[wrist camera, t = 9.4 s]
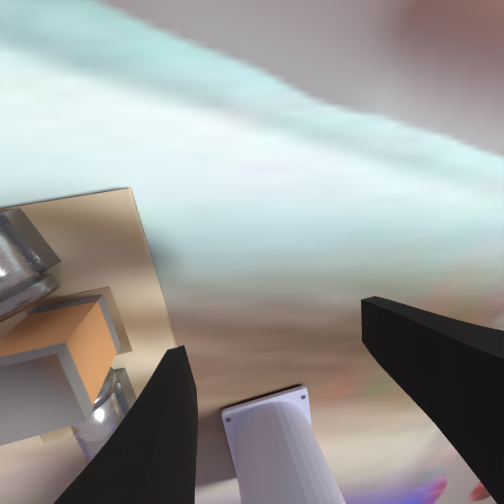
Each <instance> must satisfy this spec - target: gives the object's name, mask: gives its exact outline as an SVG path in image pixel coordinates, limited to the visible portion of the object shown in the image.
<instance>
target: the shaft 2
mask: <svg viewBox="0 0 504 504" xmlns="http://www.w3.org/2000/svg"><path fill="white" fill-rule="evenodd" d="M136 400H137V398H136V395H135V392H134V390H133V387H132V385H131V382H130V379H129V377H128V374H127V371H126V369H125V368H121V369H117V370H113V368H112V367H110V369H109V371H108V374H107V376H106V378H105V380H104V383H103V385H102V387H101V389H100V392H99V394H98V396H97V398H96V401H95V403H94V405H93V407H94V409H93V411H92V413H91V416H90V418H89V420H88V422H84V423H81V424H77V425H73V426H70V428H71V430H72V432H73V434H74V436H75V438H76V440H77V442H78V444H79V446H80V448H81V449H82V451H83V453H84V455H85V457H87V458H89V459H93V458H94V457H95V456H96V454H97V453H98V452H99V451H100V449H101V448H102V447H103V446H104V445H105V443H106V442H107V441H108V439H109V438H110V437H111V435H112V434H113V433H114V431H115V430H116V429H117V427H118V426H119V425H120V423H121V422H122V420H123V419H124V417H125V416H126V414H127V413H128V412H129V410H130V409H131V407H132V406H133V404H134V403H135V401H136Z"/></svg>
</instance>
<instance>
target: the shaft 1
mask: <svg viewBox="0 0 504 504" xmlns="http://www.w3.org/2000/svg"><path fill="white" fill-rule="evenodd" d="M59 262H61V260H60V259H59V257H58V256H57V255H56V253H55V252H54V251H53V250H52V248H51V247H50V246H49V244H48V243H47V242H46V240H45V239H44V238H43V237H42V235H41V234H40V233H39V231H38V230H37V229H36V227H35V226H34V225H33V224H32V222H31V221H30V220H29V218H28V217H27V216H26V214H25V213H24V212H23V211H22V209H21V208H20V209H15V210H10V211H5V212H1V213H0V322H2V321H4V320H6V319H8V318H10V317H12V316H14V315H16V314H18V313H20V312H22V311H23V310H25V309H27V308H29V307H30V306H32V305H34V304H35V303H37V302H39V301H40V300H42V299H43V298H45V297H46V296H48V295H49V294H51V293H52V292H54V291H55V290H56V289H57V288H59V286H60V284H59V282H58V281H57V280H56V279H55V277H54V276H53V275H52V274H51V273H50V274H47V275H44V276H42V275H41V273H42V272H44V271H46V270H48V269H50V268H51V267H53V266H54V265H56V264H58V263H59Z"/></svg>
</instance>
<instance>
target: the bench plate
mask: <svg viewBox="0 0 504 504" xmlns="http://www.w3.org/2000/svg"><path fill="white" fill-rule="evenodd" d="M20 208H21V209H22V211H23V212H24V213H25V214H26V216H27V217H28V218H29V220H30V221H31V222H32V224H33V225H34V226H35V227H36V229H37V230H38V231H39V233H40V234H41V235H42V237H43V238H44V239H45V240H46V242H47V243H48V244H49V246H50V247H51V248H52V250H53V251H54V252H55V253H56V255H57V256H58V257H59V259H60V260H61V262H59V263H58V264H56V265H54V266H53V267H51V268H50V269H48V270H46V271H44V272H42V273H41V275H42V276H44V275H47V274H50V273H51V274H52V275H53V276H54V277H55V279H56V280H57V281H58V282H59V284H60V286H59V288H57V289H56V290H55V291H54V292H52V293H51V294H49V295H48V296H46V297H45V298H43V299H42V300H40V301H39V302H37V303H35V304H34V305H32V306H30V307H29V308H27V309H25V310H23V311H22V312H20V313H18V314H16V315H14V316H12V317H10V318H8V319H6V320H4V321H2V322H0V339H1V338H2V337H3V336H4V335H5V334H7V333H8V332H9V331H10V330H11V329H13V328H14V327H15V326H16V325H17V324H18V323H20V322H21V321H22V320H23V319H24V318H26V317H27V314H29V313H30V312H31V311H32V310H33V309H35V308H39V307H44V306H49V305H54V304H59V303H64V302H69V301H74V300H78V299H83V298H88V297H93V296H98V295H103V297H104V299H105V302H106V305H107V308H108V311H109V313H110V316H111V319H112V322H113V325H114V327H115V330H116V333H117V336H118V339H119V341H120V344H121V347H120V349H119V352H118V353H116V356H115V358H114V360H113V362H112V365H111V367H112V368H113V370H117V369H121V368H125V369H126V371H127V374H128V377H129V379H130V382H131V385H132V387H133V390H134V392H135V395H136V398H138V397H139V395H140V394H141V392H142V390H143V389H144V387H145V386H146V384H147V382H148V381H149V379H150V378H151V376H152V374H153V373H154V371H155V369H156V368H157V366H158V364H159V362H160V361H161V359H162V357H163V356H164V354H165V352H166V351H167V350H168V349H172V348H176V347H178V346H177V343H176V339H175V336H174V332H173V329H172V325H171V322H170V319H169V315H168V312H167V308H166V305H165V302H164V298H163V295H162V291H161V288H160V284H159V281H158V278H157V274H156V271H155V267H154V264H153V261H152V257H151V254H150V250H149V247H148V243H147V240H146V237H145V233H144V230H143V226H142V223H141V219H140V216H139V213H138V209H137V206H136V202H135V199H134V196H133V192H132V189H131V188H127V189H121V190H115V191H108V192H102V193H96V194H90V195H84V196H78V197H71V198H65V199H59V200H53V201H47V202H41V203H34V204H28V205H22V206H16V207H10V208H3V209H0V213H1V212H5V211H10V210H15V209H20ZM70 435H73V432H72V430H71V428H70V427H66V428H62V429H59V430H55V431H52V432H48V433H44V434H41V435H40V437H41V439H42V440H43V442H44V443H46V442H49V441H53V440H56V439H60V438H63V437H66V436H70Z"/></svg>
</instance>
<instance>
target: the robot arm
mask: <svg viewBox="0 0 504 504" xmlns="http://www.w3.org/2000/svg"><path fill="white" fill-rule="evenodd" d="M361 314H362V342H363V343H364V345H365V346H366V348H367V349H368V350H369V352H370V353H371V355H372V356H373V357H374V358H375V360H376V361H377V362H378V364H379V365H380V366H381V367H382V368H383V369H384V370H385V371H386V372H387V373H388V374H389V375H390V376H391V377H392V379H393V380H394V381H395V382H396V383H397V384H398V385H399V386H400V387H401V388H402V389H403V390H404V391H405V392H406V393H407V394H408V395H409V396H410V397H411V398H412V399H413V401H414V402H415V403H416V404H417V405H418V406H419V407H420V408H421V409H422V410H423V411H424V412H425V413H426V414H427V415H428V416H429V418H430V419H431V420H432V421H433V422H434V423H435V424H436V425H437V427H438V428H439V429H440V430H441V432H442V433H443V434H444V435H445V437H446V438H447V439H448V440H449V442H450V443H451V444H452V445H453V447H454V448H455V449H456V450H457V451H458V453H459V454H460V455H461V457H463V459H464V460H465V462H466V463H467V464H468V466H469V467H470V468H471V470H472V471H473V472H474V473H475V475H476V476H477V477H478V479H479V480H480V481H481V483H482V484H483V485H484V486H485V488H486V489H487V490H488V492H489V493H490V495H491V496H492V497H493V499H494V500H495V501H496V503H497V504H504V331H502V330H497V329H492V328H488V327H483V326H479V325H475V324H471V323H467V322H463V321H460V320H456V319H452V318H448V317H445V316H441V315H438V314H434V313H431V312H428V311H424V310H421V309H418V308H415V307H411V306H408V305H405V304H402V303H398V302H395V301H392V300H388V299H385V298H381V297H376V296H373V297H370V298H366V299H362V300H361ZM302 395H303V396H302ZM221 415H222V420H223V424H224V428H225V432H226V436H227V440H228V444H229V448H230V452H231V456H232V460H233V464H234V468H235V472H236V475H237V479H238V483H239V490H240V497H241V504H346V503H345V501H344V499H343V496H342V494H341V492H340V490H339V488H338V485H337V483H336V481H335V479H334V477H333V474H332V472H331V470H330V468H329V466H328V464H327V461H326V459H325V457H324V455H323V453H322V450H321V448H320V446H319V444H318V442H317V439H316V437H315V435H314V433H313V431H312V427H311V418H310V409H309V400H308V391H307V389H306V387H305V386H299V387H295V388H292V389H289V390H285V391H282V392H279V393H275V394H272V395H269V396H265V397H262V398H259V399H256V400H252V401H249V402H246V403H242V404H239V405H236V406H232V407H229V408H226V409H224V410H223V411H222V413H221ZM227 418H229V419H227ZM197 432H198V406H197V391H196V385H195V382H194V378H193V375H192V371H191V368H190V364H189V361H188V357H187V354H186V350H185V347H184V345H183V346H179V347H176V348H172V349H168V350H167V351H166V352H165V354H164V356H163V357H162V359H161V361H160V362H159V364H158V366H157V368H156V369H155V371H154V373H153V374H152V376H151V378H150V379H149V381H148V382H147V384H146V386H145V387H144V389H143V390H142V392H141V394H140V395H139V397H138V398H137V400H136V401H135V403H134V404H133V406H132V407H131V409H130V410H129V412H128V413H127V414H126V416H125V417H124V419H123V420H122V422H121V423H120V425H119V426H118V427H117V429H116V430H115V431H114V433H113V434H112V435H111V437H110V438H109V439H108V441H107V442H106V443H105V445H104V446H103V447H102V448H101V449H100V451H99V452H98V453H97V454H96V456H95V457H94V458H93V459H92V461H91V462H90V463H89V464H88V465H87V467H86V468H85V469H84V470H83V471H82V472H81V473H80V475H79V476H78V477H77V478H76V479H75V480H74V481H73V482H72V483H71V485H70V486H69V487H68V488H67V489H66V490H65V491H64V492H63V494H62V495H61V496H60V497H59V498H58V499H57V500H56V501H55V503H54V504H194V503H195V474H196V453H197Z"/></svg>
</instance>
